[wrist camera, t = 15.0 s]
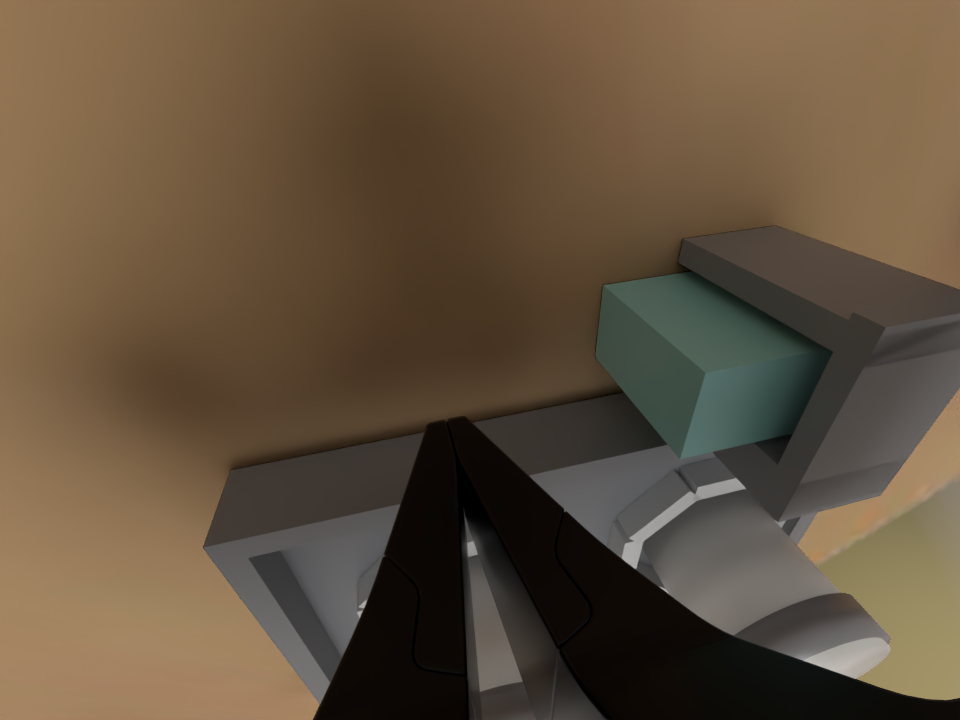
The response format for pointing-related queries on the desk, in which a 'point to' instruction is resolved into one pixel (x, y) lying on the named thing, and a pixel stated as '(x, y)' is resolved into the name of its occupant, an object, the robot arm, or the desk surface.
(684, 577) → the grey lidded container
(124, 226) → the desk surface
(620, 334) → the bar
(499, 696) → the white domed cylinder
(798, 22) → the desk surface
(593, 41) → the desk surface
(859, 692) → the robot arm
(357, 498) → the tray
